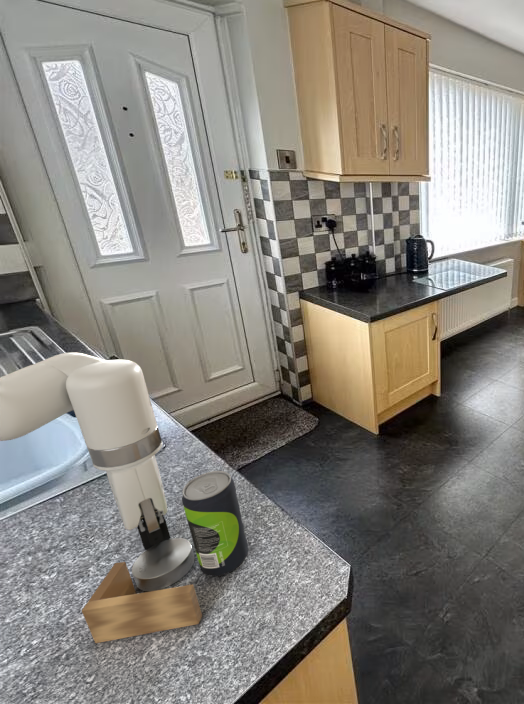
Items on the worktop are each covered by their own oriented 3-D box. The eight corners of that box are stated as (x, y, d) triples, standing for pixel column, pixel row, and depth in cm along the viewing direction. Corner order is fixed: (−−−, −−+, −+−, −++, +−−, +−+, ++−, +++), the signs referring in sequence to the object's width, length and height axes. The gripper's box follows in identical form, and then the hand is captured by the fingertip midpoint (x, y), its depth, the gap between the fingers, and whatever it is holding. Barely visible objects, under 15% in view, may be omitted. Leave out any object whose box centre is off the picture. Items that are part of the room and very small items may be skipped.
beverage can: (256, 559, 66) (240, 482, 61) (210, 587, 61) (189, 507, 56) (239, 537, 69) (222, 463, 64) (194, 563, 65) (173, 485, 60)
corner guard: (95, 643, 54) (81, 610, 52) (126, 593, 60) (114, 562, 58) (198, 624, 56) (189, 592, 54) (218, 578, 63) (210, 548, 61)
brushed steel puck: (125, 596, 59) (120, 583, 59) (150, 554, 66) (147, 542, 65) (182, 586, 61) (179, 573, 60) (202, 546, 68) (199, 534, 67)
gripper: (84, 432, 62) (117, 528, 68) (97, 484, 53) (134, 589, 59) (149, 413, 67) (175, 503, 73) (171, 457, 58) (198, 556, 64)
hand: (157, 541), depth 66 cm, fingers closed
